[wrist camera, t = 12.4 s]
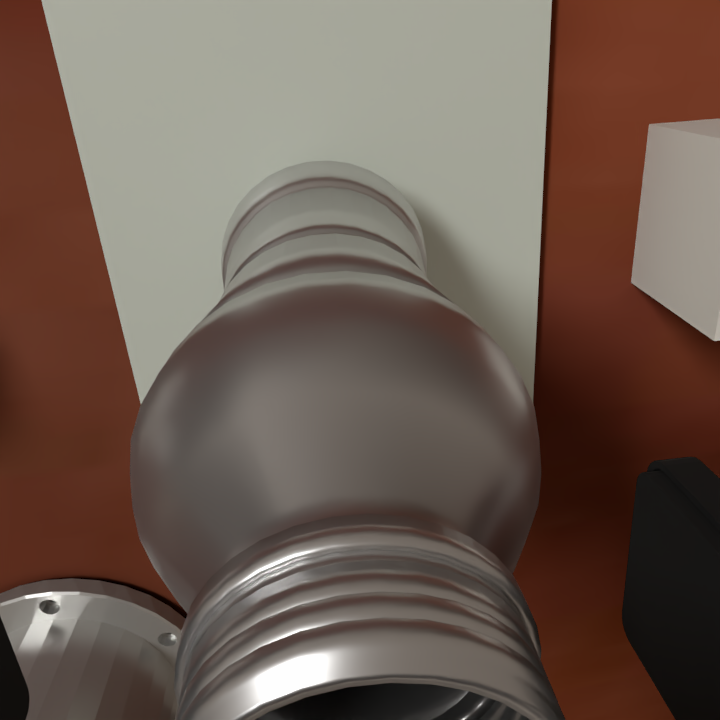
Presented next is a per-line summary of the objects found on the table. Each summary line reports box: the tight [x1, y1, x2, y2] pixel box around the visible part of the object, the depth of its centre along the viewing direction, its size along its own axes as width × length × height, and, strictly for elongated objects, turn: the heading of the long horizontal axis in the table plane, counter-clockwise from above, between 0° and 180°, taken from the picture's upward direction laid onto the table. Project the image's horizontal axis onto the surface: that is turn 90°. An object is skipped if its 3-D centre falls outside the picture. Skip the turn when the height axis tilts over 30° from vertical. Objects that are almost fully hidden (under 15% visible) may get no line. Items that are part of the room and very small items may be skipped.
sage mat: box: [42, 0, 552, 404], centre depth 24 cm, size 20×16×1 cm
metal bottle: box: [130, 161, 565, 720], centre depth 15 cm, size 6×7×20 cm
